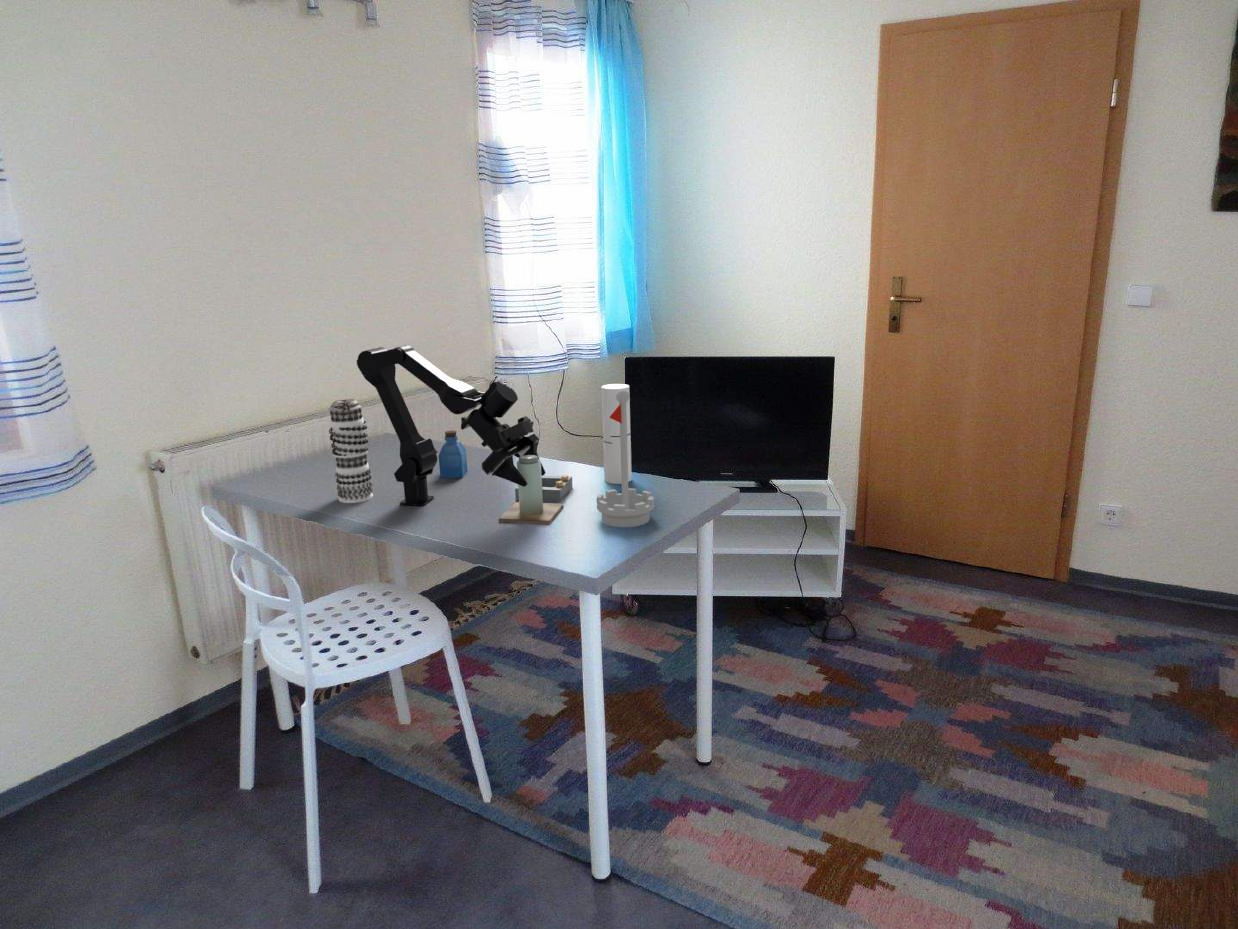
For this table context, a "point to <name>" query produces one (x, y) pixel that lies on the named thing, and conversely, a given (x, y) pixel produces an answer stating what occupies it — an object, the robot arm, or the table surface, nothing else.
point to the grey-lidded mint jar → (530, 485)
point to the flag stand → (624, 484)
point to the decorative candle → (350, 451)
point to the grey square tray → (553, 488)
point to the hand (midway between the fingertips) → (535, 479)
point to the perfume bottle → (452, 457)
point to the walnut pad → (543, 517)
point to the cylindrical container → (614, 434)
